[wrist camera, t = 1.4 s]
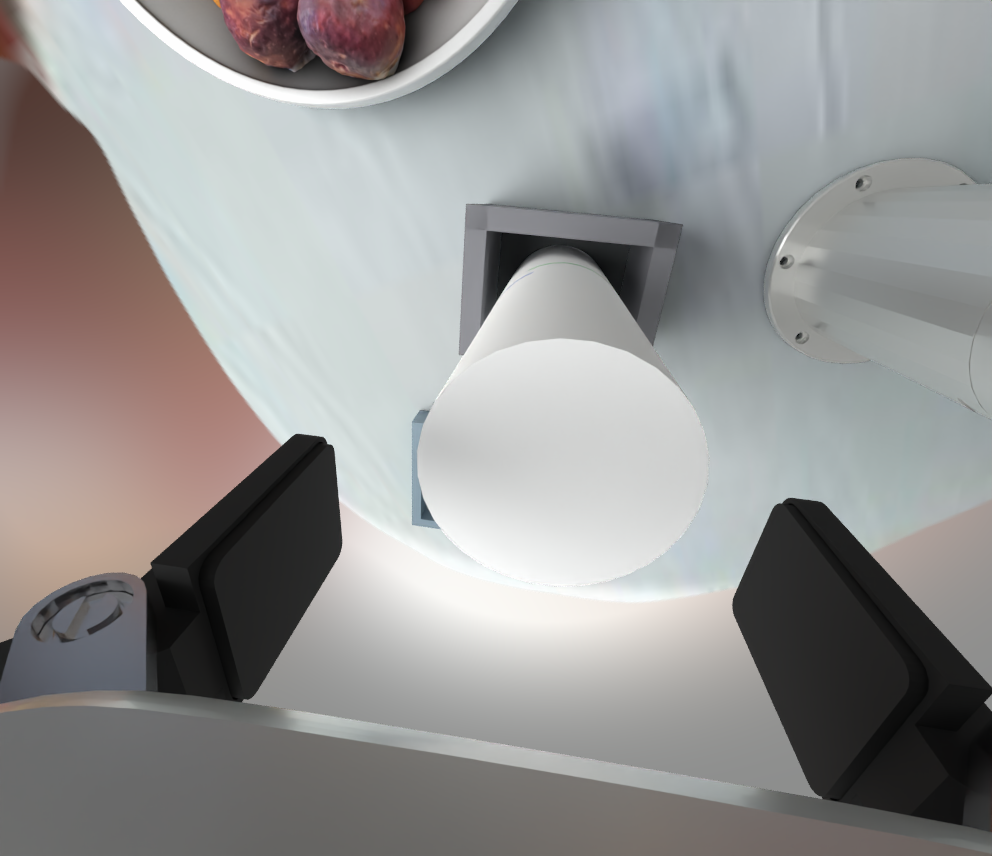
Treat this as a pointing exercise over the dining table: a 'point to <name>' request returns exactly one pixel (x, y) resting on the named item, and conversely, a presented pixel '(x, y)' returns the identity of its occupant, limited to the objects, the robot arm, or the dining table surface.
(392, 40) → the bowl
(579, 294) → the cylindrical container
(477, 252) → the bay
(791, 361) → the dining table surface
